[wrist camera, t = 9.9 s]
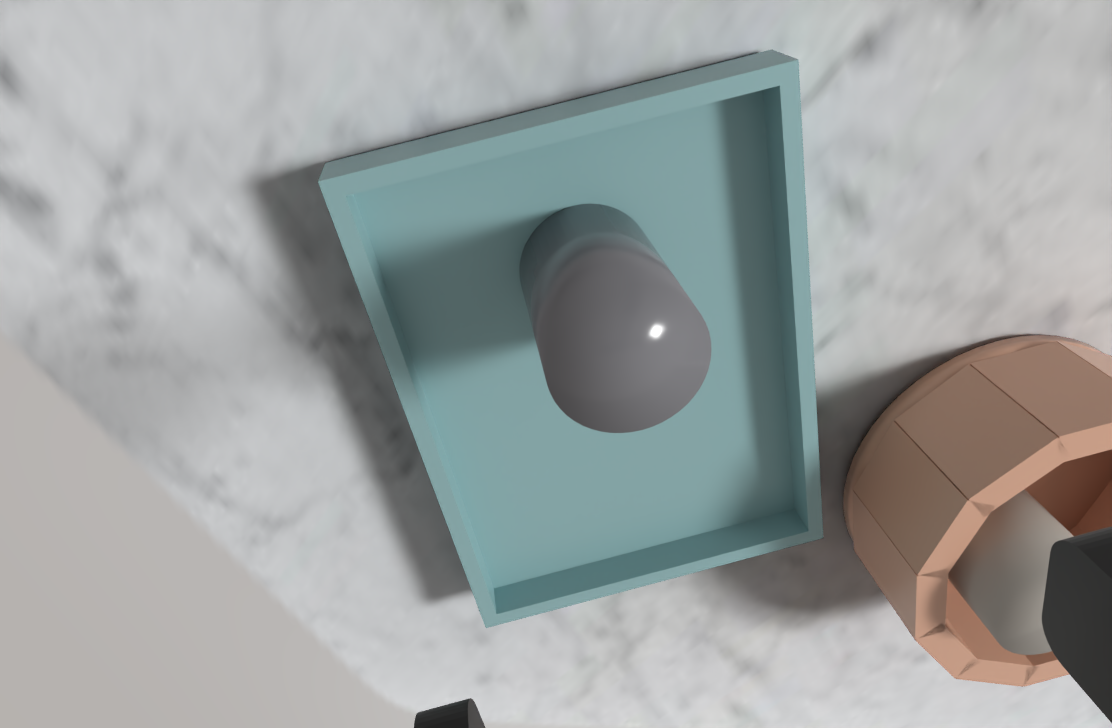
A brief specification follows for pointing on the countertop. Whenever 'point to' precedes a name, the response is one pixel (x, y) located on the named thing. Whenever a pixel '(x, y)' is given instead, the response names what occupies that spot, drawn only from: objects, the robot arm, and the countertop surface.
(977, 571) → the beige rounded cylinder
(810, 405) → the tray
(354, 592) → the countertop surface
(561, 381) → the grey rounded cylinder
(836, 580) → the countertop surface
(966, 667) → the bowl
